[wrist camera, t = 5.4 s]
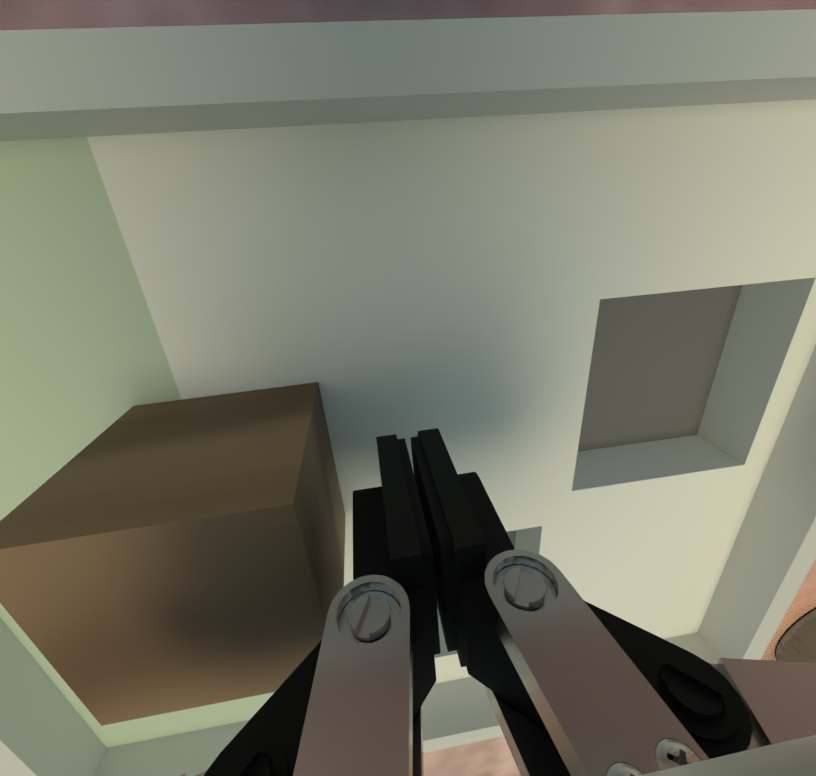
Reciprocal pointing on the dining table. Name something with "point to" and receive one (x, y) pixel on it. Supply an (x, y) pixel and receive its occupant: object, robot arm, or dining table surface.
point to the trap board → (431, 299)
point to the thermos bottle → (799, 641)
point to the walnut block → (182, 553)
